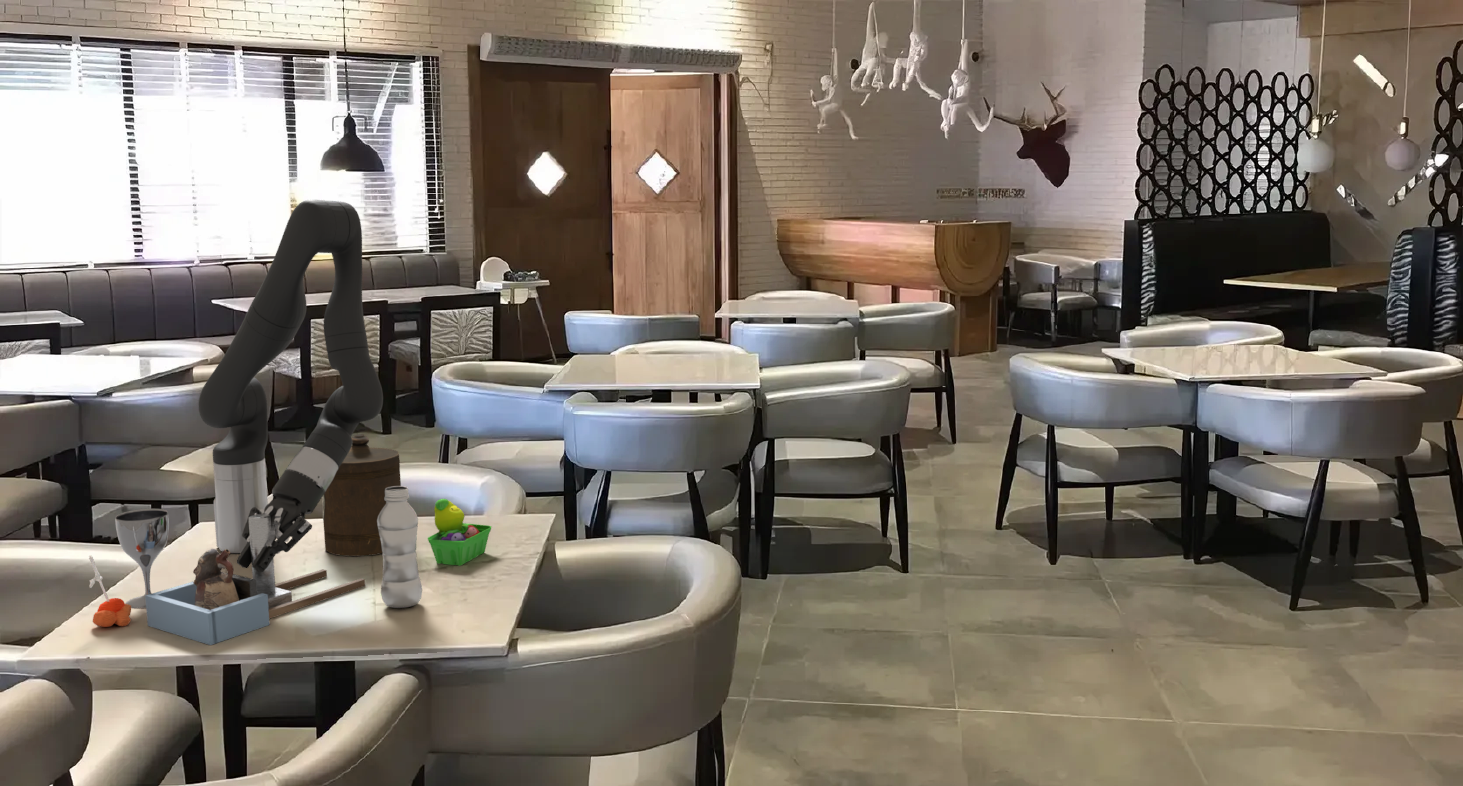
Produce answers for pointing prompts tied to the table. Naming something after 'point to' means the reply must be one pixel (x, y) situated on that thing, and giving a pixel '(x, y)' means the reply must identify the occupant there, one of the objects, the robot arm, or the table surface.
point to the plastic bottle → (399, 550)
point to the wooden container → (358, 499)
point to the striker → (266, 579)
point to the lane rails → (314, 597)
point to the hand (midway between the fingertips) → (249, 567)
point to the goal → (204, 615)
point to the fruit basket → (456, 536)
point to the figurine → (214, 580)
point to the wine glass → (143, 541)
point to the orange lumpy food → (109, 606)
